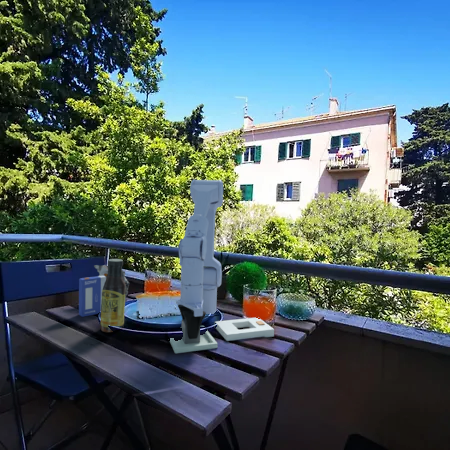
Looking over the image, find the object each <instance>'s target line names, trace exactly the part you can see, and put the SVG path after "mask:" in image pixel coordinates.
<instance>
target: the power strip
mask: <svg viewBox="0 0 450 450" xmlns="http://www.w3.org/2000/svg"><path fill="white" fill-rule="evenodd" d="M258 318H259V317H258ZM258 318H256V317H248V318H246V317H245V318H238V319H227V320H218V321H217V320H216V321H214V324H215V323H216V324H217V327H216V328H215V329H216V331H217V332H218V333H219V334H220V335H221V336H222V337H223V338H224V340H225V341H226V342H229V341H237V340H246V339H253V338H261V337H264V338H272V337H275V329H274V328H273V327H272V326H271V325H269V323H266V322H265V321H264V320H263V319H261V318H260V319H258ZM240 328H243V329H240Z"/></svg>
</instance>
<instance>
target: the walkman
mask: <svg viewBox="0 0 450 450" xmlns="http://www.w3.org/2000/svg"><path fill="white" fill-rule="evenodd" d="M105 281H106V277H105V276H99V275H97V276H90V277H82V278H79V279H78V315H79V316H80V317H82V318H83V317H88V316H94V315H98V313H99V312H100V311H101V303H102V289H103V287H104V284H105ZM99 314H100V313H99Z"/></svg>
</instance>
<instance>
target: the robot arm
mask: <svg viewBox="0 0 450 450" xmlns="http://www.w3.org/2000/svg"><path fill="white" fill-rule="evenodd" d="M189 192H190V197H191V199H192V202H193V203H194V208H193V214H192V215H191V216H189V218H188V219H187V223H186V228H185V232H184V236H183V238H181V239H179V243H178V257H179V266H180V299H176V300H175V304H176V305H177V308H178V309H179V311H180V312H179V313H180V316H181V318H182V319H185V320H186V324H187V332H188V337H189V339H196V338H197V337H198V333H199V329H200V326H202V323H203V320H204V319H205V318H206V317H205V315H206V314H210V313H211V314H214V313H215V312H216V311H217V303H218V302H217V301H218V300H217V297H218V296H217V295H218V292H217V291H218V288H219V287H220V286H221V285H222V280H223V279H222V277H223V271H222V263H221V262H220V261H219V260H218V259H217V258H215V257H214V255H215V253H214V251H215V233H216V232H215V229H216V228H215V227H216V213H217V209H218V208H220V207H222V206H223V201H224V182H223V180H222V179H218V180H217V179H215V180H213V179H212V180H211V179H192V180H191V183H190V186H189ZM182 319H181V320H182Z"/></svg>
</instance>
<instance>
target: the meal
mask: <svg viewBox="0 0 450 450" xmlns="http://www.w3.org/2000/svg"><path fill="white" fill-rule="evenodd" d="M93 267H94V268H95V269H96V270H97V273H98V274H99V275H98V276H105V277H106V278H107V275H108V265H99V264H96V265H94V264H93ZM125 275H126V271H125V270H123V269H122V278H123V280H124V282H125V303H127V302H128V297H127V295H128V294H129V291H128V290H129V286H130V282H129V281H128V279H127V278H126V276H125ZM126 297H127V298H126Z"/></svg>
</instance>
